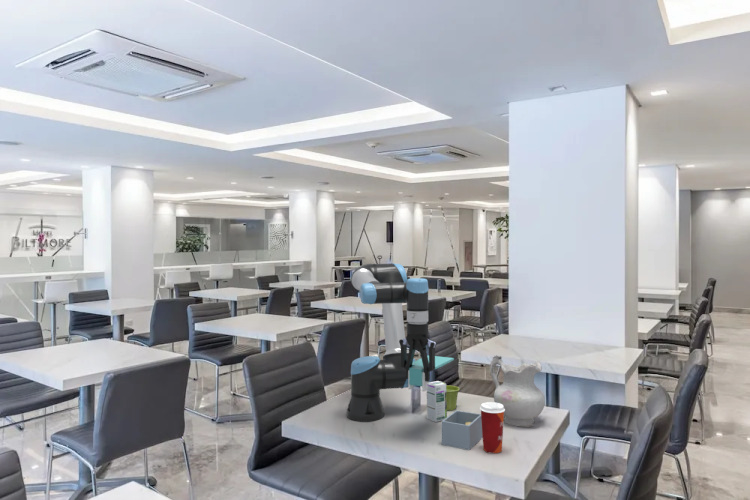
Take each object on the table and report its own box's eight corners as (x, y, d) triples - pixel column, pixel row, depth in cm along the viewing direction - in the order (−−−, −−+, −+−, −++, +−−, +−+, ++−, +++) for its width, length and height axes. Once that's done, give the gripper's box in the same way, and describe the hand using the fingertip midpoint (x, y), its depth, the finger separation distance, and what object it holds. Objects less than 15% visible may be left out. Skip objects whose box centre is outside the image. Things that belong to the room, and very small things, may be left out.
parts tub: (469, 450, 170) (469, 426, 171) (441, 444, 175) (441, 421, 176) (482, 436, 183) (482, 414, 183) (456, 432, 188) (456, 410, 188)
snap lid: (429, 387, 173) (429, 370, 173) (401, 383, 179) (401, 367, 179) (453, 373, 193) (453, 358, 193) (428, 370, 199) (428, 355, 199)
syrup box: (435, 422, 198) (435, 385, 198) (426, 418, 203) (426, 382, 203) (447, 419, 201) (446, 383, 201) (437, 415, 206) (437, 380, 206)
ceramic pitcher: (482, 426, 197) (480, 363, 195) (495, 408, 214) (493, 350, 212) (540, 435, 187) (539, 369, 185) (548, 416, 204) (548, 355, 202)
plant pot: (442, 412, 210) (441, 391, 210) (434, 406, 219) (434, 386, 219) (463, 411, 212) (463, 390, 212) (454, 404, 221) (454, 384, 221)
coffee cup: (508, 454, 167) (508, 408, 167) (484, 455, 166) (483, 409, 166) (500, 444, 175) (500, 401, 175) (476, 445, 175) (476, 401, 175)
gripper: (390, 322, 179) (390, 388, 179) (436, 325, 170) (437, 395, 170) (399, 319, 186) (400, 383, 185) (445, 322, 177) (445, 390, 177)
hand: (417, 389), depth 178 cm, fingers closed on snap lid, 5 cm apart
